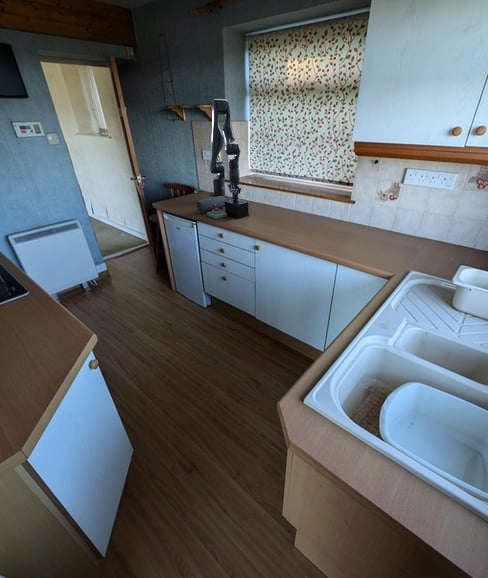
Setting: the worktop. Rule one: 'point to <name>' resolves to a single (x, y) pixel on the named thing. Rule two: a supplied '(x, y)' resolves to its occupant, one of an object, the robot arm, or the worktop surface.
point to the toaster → (236, 208)
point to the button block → (216, 214)
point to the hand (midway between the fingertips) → (235, 199)
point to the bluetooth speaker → (211, 204)
